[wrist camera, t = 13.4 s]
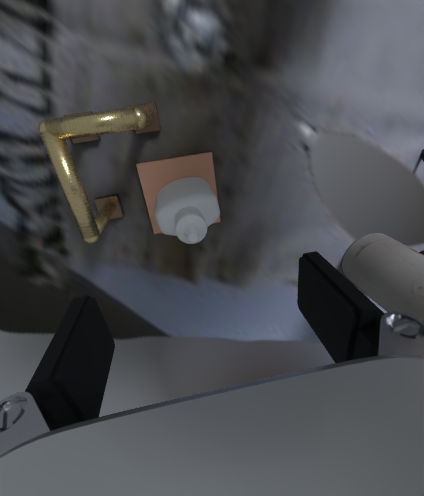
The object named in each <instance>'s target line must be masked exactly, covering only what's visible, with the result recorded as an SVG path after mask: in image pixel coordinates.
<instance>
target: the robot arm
mask: <svg viewBox="0 0 424 496" xmlns="http://www.w3.org/2000/svg"><path fill="white" fill-rule="evenodd" d="M297 303H298V307H299V310H300V311H301V313H302V314H303V316H304V317H305V319H306V320H307V322H308V323H309V324H310V326H311V327H312V329H313V330H314V332H315V333H316V335H317V336H318V338H319V339H320V341H321V342H322V344H323V345H324V346H325V348H326V350H327V351H328V353H329V354H330V356H331V357H332V359H333V360H334V362H335V364H330V365H325V366H320V367H316V368H311V369H307V370H302V371H297V372H293V373H288V374H284V375H280V376H275V377H270V378H266V379H262V380H257V381H253V382H248V383H244V384H239V385H235V386H231V387H226V388H222V389H217V390H213V391H209V392H205V393H200V394H196V395H192V396H187V397H182V398H178V399H174V400H170V401H165V402H161V403H157V404H152V405H148V406H144V407H140V408H135V409H131V410H127V411H123V412H118V413H115V414H110V415H106V416H102V417H99V413H100V408H101V404H102V400H103V395H104V391H105V387H106V383H107V379H108V374H109V370H110V366H111V361H112V357H113V353H114V348H115V346H114V345H115V344H114V340H113V338H112V335H111V333H110V331H109V329H108V326H107V324H106V322H105V320H104V317H103V315H102V313H101V311H100V309H99V306H98V304H97V302H96V300H95V299H94V298H91V297H90V296H83V297H78V298H74V299H73V301H72V303H71V305H70V307H69V308H68V310H67V312H66V314H65V316H64V318H63V320H62V322H61V324H60V326H59V328H58V330H57V331H56V333H55V335H54V337H53V339H52V341H51V343H50V345H49V347H48V348H47V350H46V352H45V354H44V356H43V358H42V360H41V362H40V364H39V366H38V367H37V369H36V371H35V373H34V375H33V377H32V379H31V381H30V383H29V385H28V387H27V389H26V390H25V392H18V393H15V394H12V395H10V396H8V397H6V398H4V399H3V400H1V401H0V496H424V321H423V320H421V319H420V318H418V317H416V316H414V315H411V314H408V313H405V312H398V311H394V312H388V313H385V314H384V313H383V312H382V311H381V310H380V309H379V308H378V307H377V306H376V305H375V304H374V303H372V302H371V301H370V300H369V299H368V298H367V297H366V296H365V295H364V294H363V293H362V292H360V291H359V290H358V289H357V288H356V287H355V286H354V285H353V284H352V283H351V282H350V281H348V280H347V279H346V278H345V277H344V276H343V275H342V274H341V273H340V272H339V271H338V270H336V269H335V268H334V267H333V266H332V265H331V264H330V263H329V262H328V261H327V260H326V259H324V258H323V257H322V256H321V255H320V254H319V253H318V252H310V253H305V254H303V256H302V257H300V259H299V275H298V301H297Z"/></svg>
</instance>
